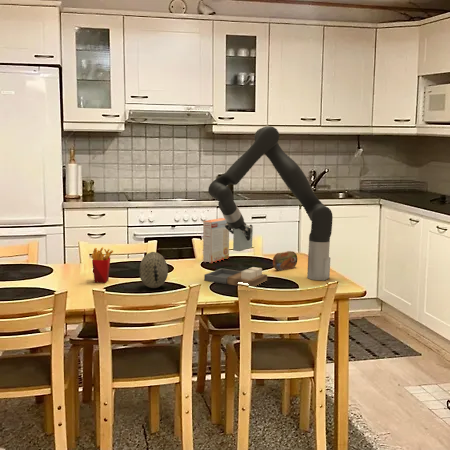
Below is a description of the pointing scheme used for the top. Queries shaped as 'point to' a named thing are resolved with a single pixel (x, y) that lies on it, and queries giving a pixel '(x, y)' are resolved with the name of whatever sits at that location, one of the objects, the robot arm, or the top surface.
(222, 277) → the tray
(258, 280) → the board
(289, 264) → the tin
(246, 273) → the tile
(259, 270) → the tile
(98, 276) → the french fries
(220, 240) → the cracker box
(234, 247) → the grey-blue rectangular block
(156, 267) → the decorative egg
